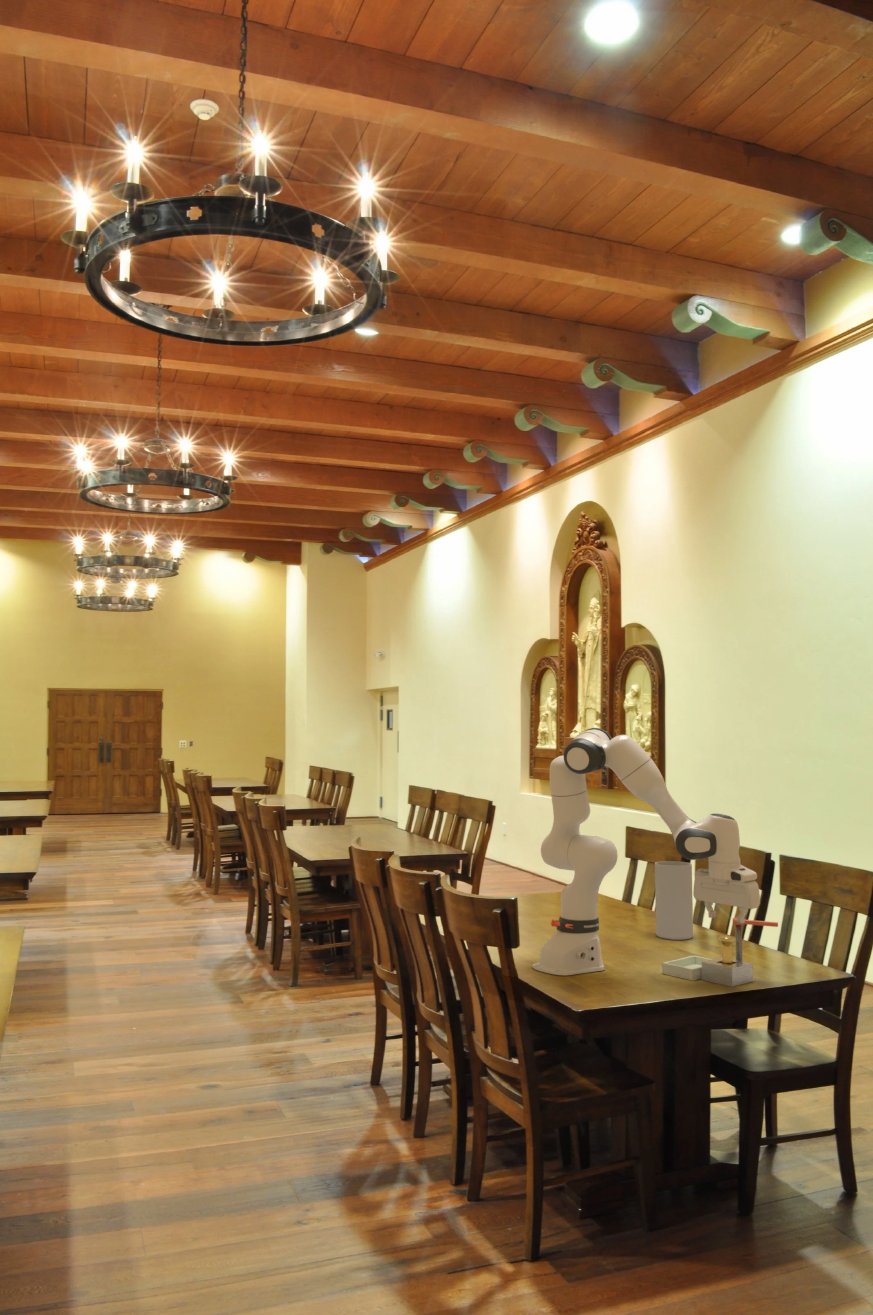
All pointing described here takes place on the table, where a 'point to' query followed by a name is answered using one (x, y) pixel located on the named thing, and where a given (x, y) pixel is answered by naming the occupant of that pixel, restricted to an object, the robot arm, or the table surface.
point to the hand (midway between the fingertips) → (726, 920)
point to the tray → (685, 967)
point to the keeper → (756, 923)
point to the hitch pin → (726, 949)
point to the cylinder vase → (674, 900)
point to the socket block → (729, 967)
